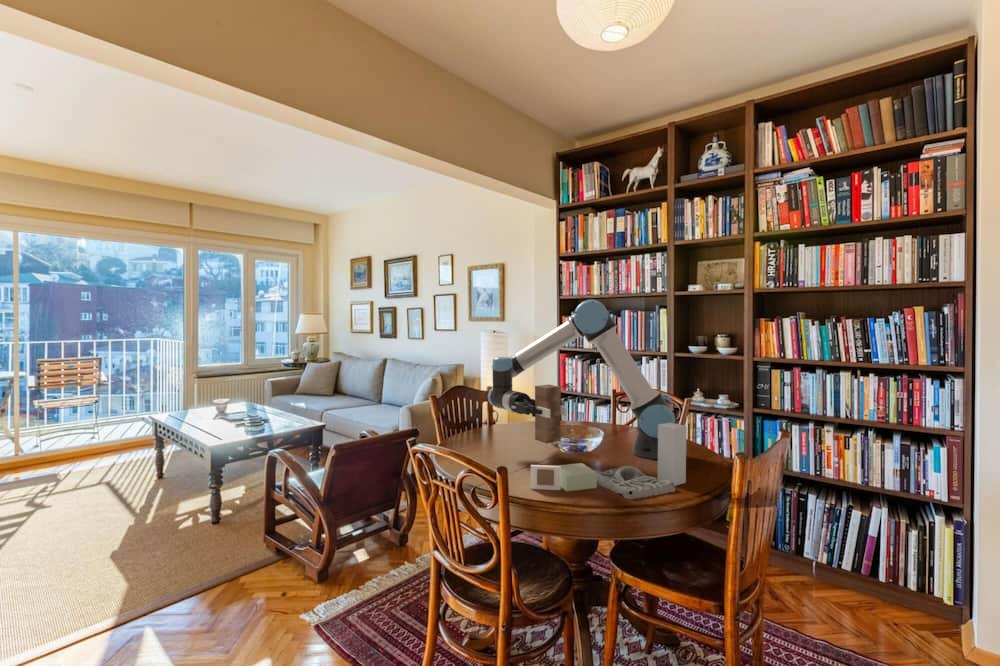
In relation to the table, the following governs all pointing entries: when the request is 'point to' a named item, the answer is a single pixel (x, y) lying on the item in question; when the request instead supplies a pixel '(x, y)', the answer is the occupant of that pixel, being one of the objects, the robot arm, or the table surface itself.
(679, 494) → the table surface
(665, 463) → the grey plastic block
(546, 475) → the card
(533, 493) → the table surface
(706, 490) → the table surface
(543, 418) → the walnut block
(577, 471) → the sage base block
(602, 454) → the table surface
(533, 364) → the robot arm
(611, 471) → the wall plaque
